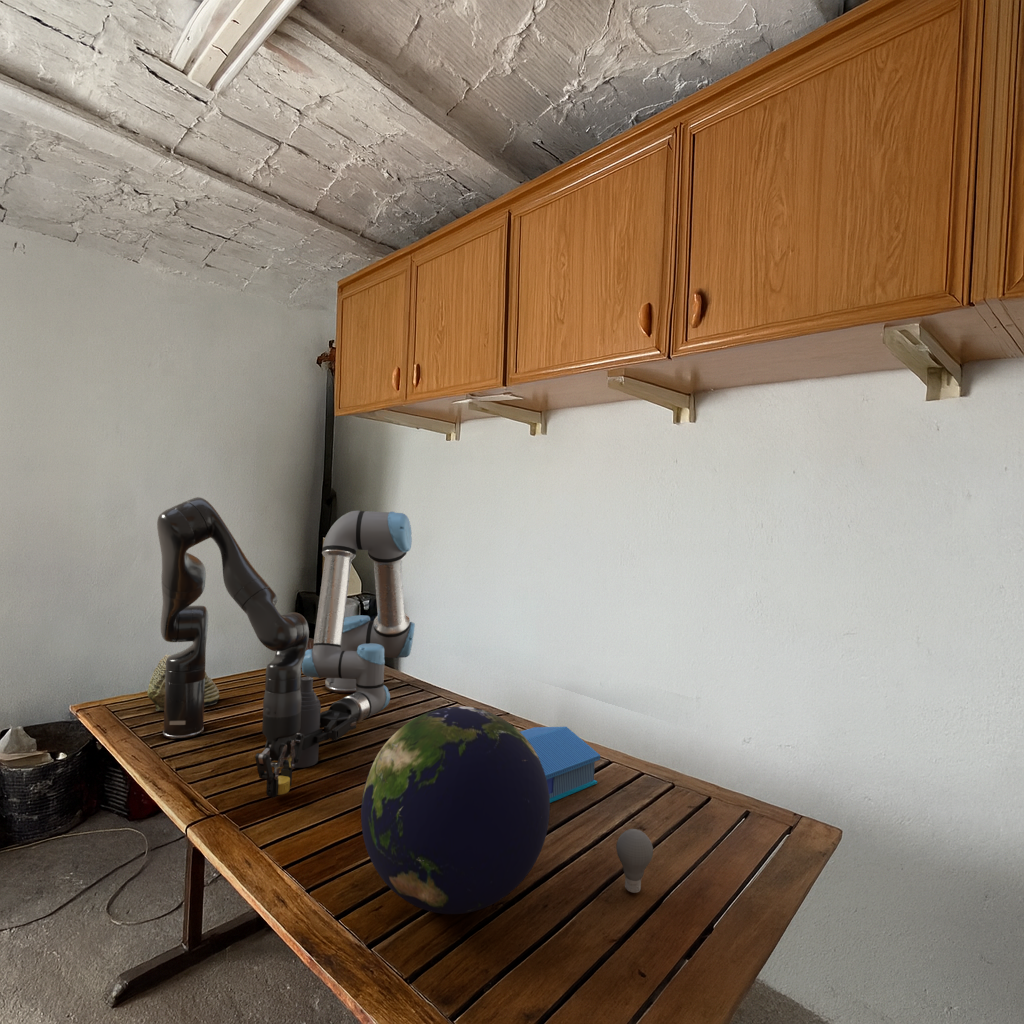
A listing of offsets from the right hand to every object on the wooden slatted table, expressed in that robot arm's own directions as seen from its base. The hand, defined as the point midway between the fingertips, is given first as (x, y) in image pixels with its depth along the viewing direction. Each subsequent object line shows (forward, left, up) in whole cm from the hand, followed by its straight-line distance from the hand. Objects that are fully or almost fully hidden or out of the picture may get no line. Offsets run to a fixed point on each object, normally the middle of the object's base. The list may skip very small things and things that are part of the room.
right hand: (289, 740), depth 146 cm
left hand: (+14, +2, -5) cm, 15 cm away
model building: (+10, +50, -7) cm, 52 cm away
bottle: (-4, +2, -7) cm, 8 cm away
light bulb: (+45, +69, -7) cm, 83 cm away
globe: (+47, +39, -7) cm, 61 cm away
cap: (+14, +2, -3) cm, 14 cm away
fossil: (-42, -42, -7) cm, 59 cm away
